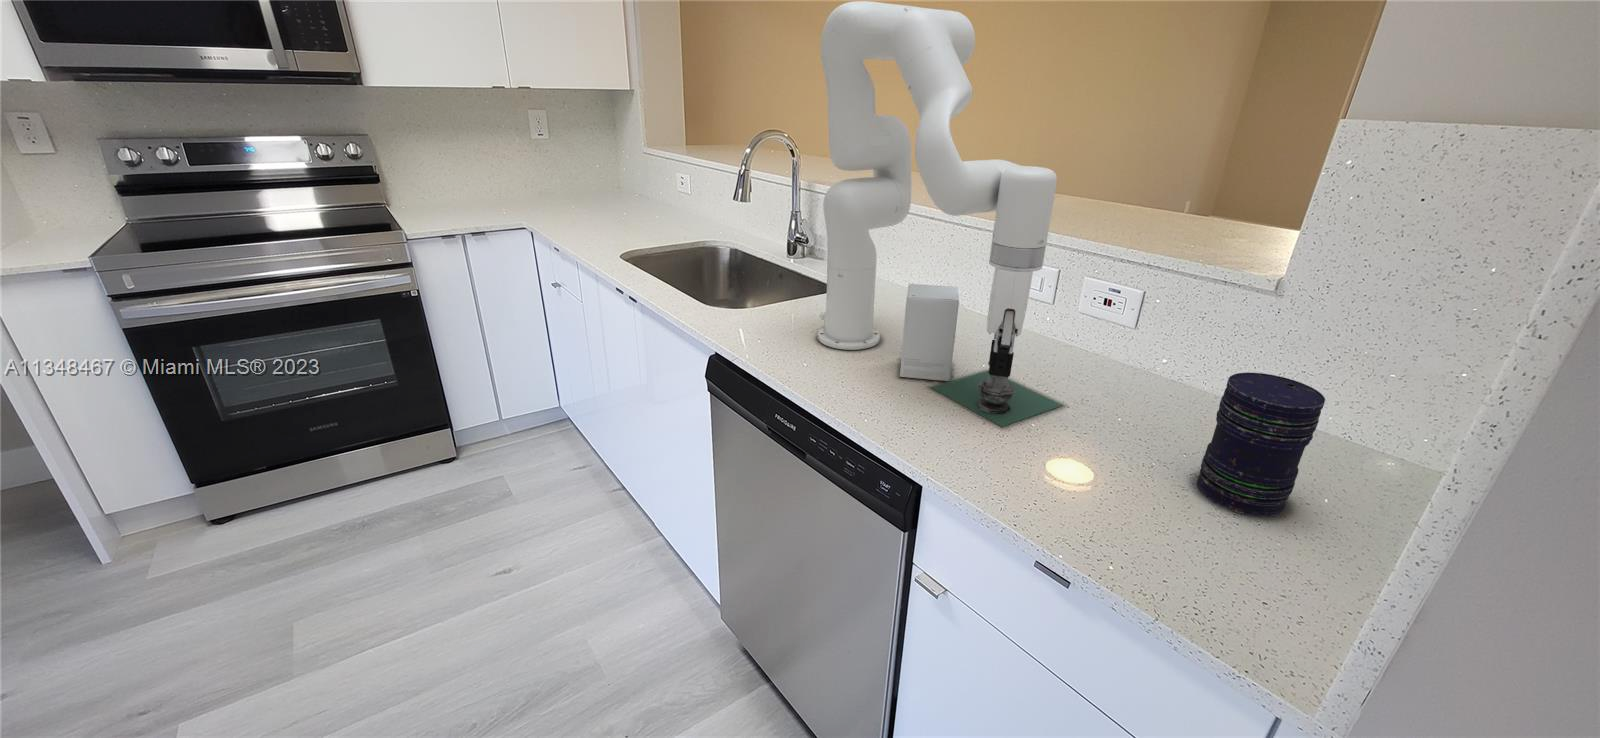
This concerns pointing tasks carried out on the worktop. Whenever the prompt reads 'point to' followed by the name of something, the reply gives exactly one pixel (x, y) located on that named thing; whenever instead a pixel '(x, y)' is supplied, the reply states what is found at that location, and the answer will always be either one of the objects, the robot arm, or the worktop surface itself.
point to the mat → (1021, 402)
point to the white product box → (929, 331)
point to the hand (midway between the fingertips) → (999, 368)
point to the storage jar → (1258, 443)
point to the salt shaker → (995, 394)
